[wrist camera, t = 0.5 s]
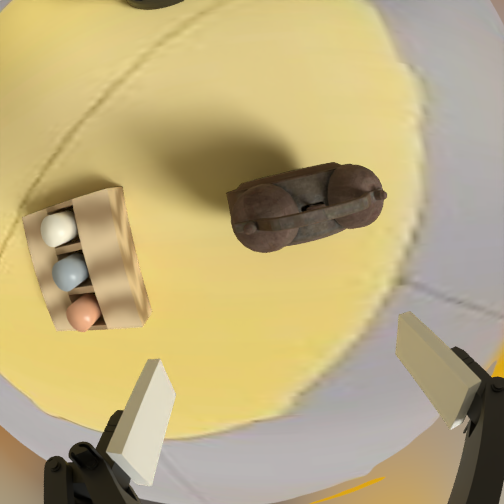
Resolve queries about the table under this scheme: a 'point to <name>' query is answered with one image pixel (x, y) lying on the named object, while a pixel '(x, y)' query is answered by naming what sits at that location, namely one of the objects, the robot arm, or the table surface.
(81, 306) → the peach egg
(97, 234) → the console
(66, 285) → the blue egg
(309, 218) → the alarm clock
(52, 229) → the cream rounded piece
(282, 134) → the table surface
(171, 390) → the robot arm
